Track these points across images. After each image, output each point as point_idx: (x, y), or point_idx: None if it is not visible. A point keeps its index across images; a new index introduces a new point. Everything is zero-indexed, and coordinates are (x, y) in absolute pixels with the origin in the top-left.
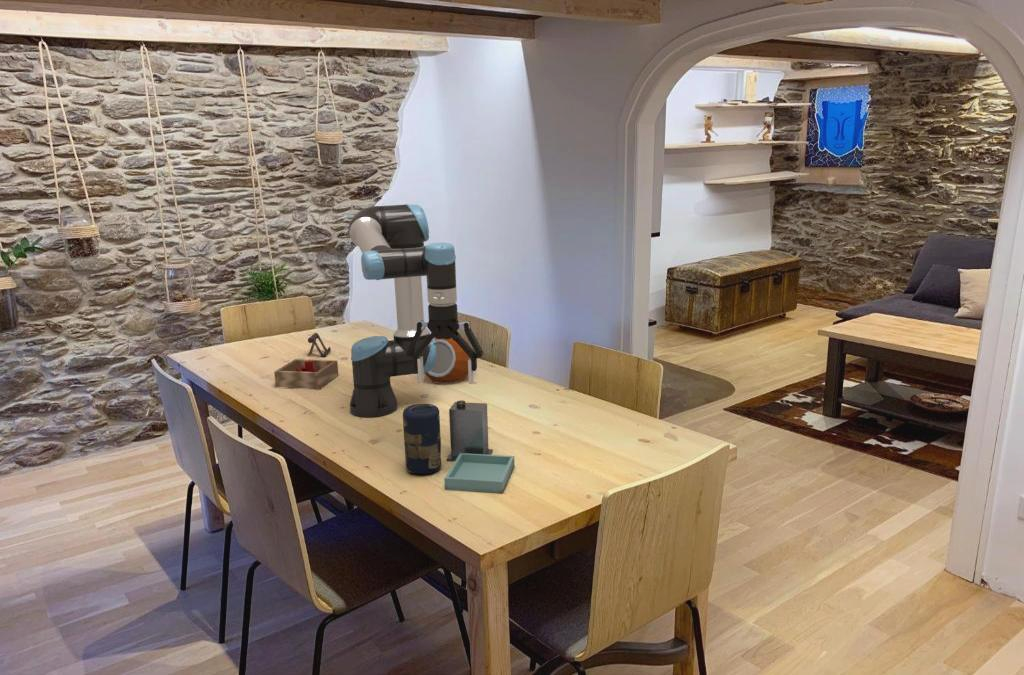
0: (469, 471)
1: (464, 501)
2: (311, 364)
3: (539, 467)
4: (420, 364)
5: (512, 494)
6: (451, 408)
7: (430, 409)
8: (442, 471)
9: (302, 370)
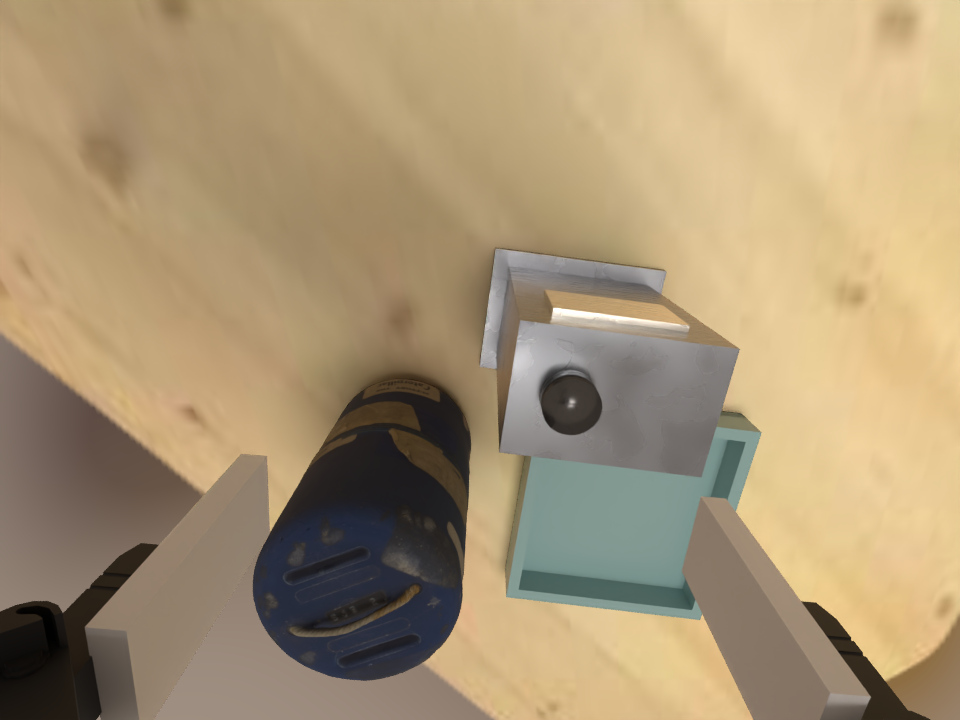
0: (578, 478)
1: (572, 631)
2: None
3: (834, 418)
4: (181, 668)
5: None
6: (511, 434)
7: (413, 622)
8: (477, 450)
9: None
